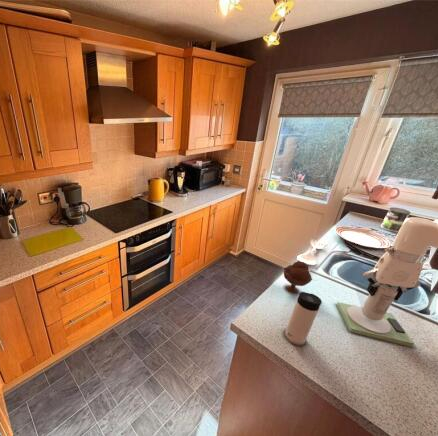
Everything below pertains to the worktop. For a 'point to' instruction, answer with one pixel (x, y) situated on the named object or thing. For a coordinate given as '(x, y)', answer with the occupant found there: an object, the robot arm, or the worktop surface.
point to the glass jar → (395, 219)
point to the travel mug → (302, 318)
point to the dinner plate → (362, 237)
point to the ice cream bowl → (297, 276)
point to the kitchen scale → (374, 325)
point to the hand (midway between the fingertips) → (381, 295)
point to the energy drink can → (379, 301)
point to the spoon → (311, 254)
